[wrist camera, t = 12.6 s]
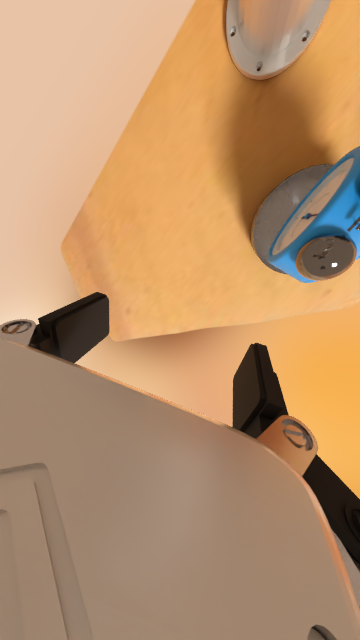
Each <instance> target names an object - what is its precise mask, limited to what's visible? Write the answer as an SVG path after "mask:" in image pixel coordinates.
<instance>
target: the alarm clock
mask: <svg viewBox="0 0 360 640" xmlns="http://www.w3.org/2000/svg"><path fill="white" fill-rule="evenodd" d="M359 257H360V146H359V147H357V148H355V149H354V150H352V151H350V152H349V153H348V154H346V155H345V156H344V157H343V158H341V159H340V160H339V161H338V162H337V163H336V164H335V165H334V166H333V167H332V168H331V169H330V170H329V171H328V172H327V173H326V174H325V175H324V176H323V177H322V178H321V179H320V180H319V181H318V182H317V184H316V185H315V186H314V187H313V188H312V189H311V190H310V191H309V193H308V194H307V195H306V196H305V197H304V199H303V200H302V201H301V202H300V204H299V205H298V206H297V207H296V209H295V210H294V211H293V213H292V214H291V215H290V217H289V218H288V219H287V221H286V222H285V224H284V225H283V227H282V228H281V230H280V231H279V233H278V234H277V236H276V238H275V239H274V241H273V243H272V245H271V247H270V249H269V252H268V255H267V260H268V262H269V263H270V264H272V265H273V266H275V267H277V268H278V269H280V270H282V271H284V272H285V273H287V274H289V275H290V276H292V277H294V278H295V279H297V280H299V281H300V282H304V283H311V282H316V281H322V280H328V279H332V278H335V277H337V276H339V275H341V274H343V273H344V272H345V271H347V270H348V269H349V268H350V267H351V266H352V264H353V263H354V261H355V260H357V259H358V258H359Z"/></svg>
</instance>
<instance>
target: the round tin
mask: <svg viewBox="0 0 360 640" xmlns="http://www.w3.org/2000/svg"><path fill="white" fill-rule="evenodd" d="M333 166H334V165H333V164H323V165H316V166H311V167H308V168H306V169H303V170H301V171H299V172H297V173H295V174H293V175H291V176H290V177H288V178H287V179H285V180H284V181H283V182H282V183H280V184H279V185H278V186H277V187H276V188H275V189H274V190H273V191H272V192H271V193H270V194H269V195H268V196H267V197H266V198H265V200H264V201H263V202H262V204H261V205H260V206H259V208H258V210H257V212H256V214H255V216H254V219H253V222H252V226H251V242H252V246H253V249H254V251H255V253H256V254H257V256H258V257H259V258H260V259H261V261H262V262H263V263H264V264H265V265H266V266H268V267H269V268H271V269H272V270H274V271H277V272H280V273H283V274H287V273H285V272H284V271H282V270H280V269H278V268H277V267H275V266H273V265H272V264H270V263H269V262H268V260H267V255H268V252H269V249H270V247H271V245H272V243H273V241H274V239H275V238H276V236H277V234H278V233H279V231H280V230H281V228H282V227H283V225H284V224H285V222H286V221H287V219H288V218H289V217H290V215H291V214H292V213H293V211H294V210H295V209H296V207H297V206H298V205H299V204H300V202H301V201H302V200H303V199H304V197H305V196H306V195H307V194H308V193H309V191H310V190H311V189H312V188H313V187H314V186H315V185H316V184H317V182H318V181H319V180H320V179H321V178H322V177H323V176H324V175H325V174H326V173H327V172H328V171H329V170H330V169H331V168H332V167H333Z"/></svg>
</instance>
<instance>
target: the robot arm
mask: <svg viewBox="0 0 360 640" xmlns="http://www.w3.org/2000/svg"><path fill="white" fill-rule="evenodd" d="M330 1H331V0H228V4H227V11H226V34H227V43H228V49H229V52H230V55H231V58H232V61H233V63H234V64H235V66H236V68H237V69H238V70H239V71H240V72H241V73H242V74H243V75H245V76H246V77H248V78H250V79H256V80H263V79H268V78H271V77H274V76H276V75H278V74H280V73H281V72H283V71H284V70H286V69H287V68H288V67H289V66H291V65H292V64H293V63H294V62H295V61H296V60H297V59H298V58H299V57H300V55H301V54H302V53H303V52H304V51H305V50H306V48H307V47H308V45H309V44H310V42H311V41H312V39H313V38H314V36H315V34H316V32H317V31H318V29H319V27H320V25H321V23H322V21H323V19H324V16H325V14H326V12H327V9H328V7H329V4H330ZM232 35H234V36H232ZM302 40H305V41H304V42H303V41H302ZM258 69H260V71H257V70H258ZM38 320H39V324H38V325H36V324H35V322H34V321H31V320H27V319H20V320H13V321H9V322H7V323H4V324H2V325H0V640H360V499H359V498H358V497H357V496H356V495H355V494H354V493H353V492H352V491H351V490H350V489H349V488H348V487H347V486H346V485H345V484H344V483H343V482H342V480H340V478H339V477H338V476H337V475H336V474H335V473H334V472H333V471H332V470H331V469H330V468H329V467H328V466H327V465H326V464H325V463H324V462H323V461H322V460H321V458H320V457H318V455H317V451H318V445H317V441H316V439H315V437H314V435H313V434H312V432H311V431H310V430H309V429H308V428H307V427H306V426H305V425H304V424H303V423H302V422H301V421H299V420H298V419H296V418H294V417H292V416H289V415H288V412H287V409H286V405H285V402H284V398H283V395H282V391H281V388H280V384H279V381H278V377H277V375H276V373H275V372H273V368H272V364H271V361H270V357H269V353H268V350H267V347H266V346H265V345H262V344H259V343H255V344H251V345H250V347H249V349H248V351H247V352H246V354H245V357H244V358H243V360H242V362H241V364H240V366H239V368H238V370H237V372H236V374H235V375H234V379H233V427H230V426H228V425H226V424H224V423H221V422H219V421H217V420H214V419H212V418H209V417H207V416H205V415H202V414H200V413H198V412H195V411H193V410H190V409H188V408H185V407H183V406H180V405H178V404H175V403H173V402H170V401H168V400H165V399H163V398H160V397H158V396H155V395H153V394H151V393H148V392H145V391H143V390H140V389H138V388H135V387H133V386H130V385H128V384H125V383H123V382H120V381H117V380H115V379H113V378H110V377H108V376H105V375H102V374H100V373H97V372H95V371H92V370H90V369H87V368H85V367H82V366H79V365H77V364H74V363H75V362H76V361H78V360H79V359H80V358H81V357H82V356H84V355H85V354H86V353H87V352H88V351H90V350H91V349H92V348H93V347H94V346H96V345H97V344H98V343H99V342H100V341H102V340H103V339H104V338H105V337H106V336H107V335H108V334H109V299H108V298H107V296H106V295H105V294H102V293H99V292H96V293H93V294H91V295H89V296H87V297H85V298H82V299H80V300H78V301H76V302H74V303H71V304H69V305H67V306H65V307H63V308H60V309H58V310H56V311H54V312H52V313H49V314H47V315H45V316H43V317H40V318H39V319H38Z"/></svg>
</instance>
